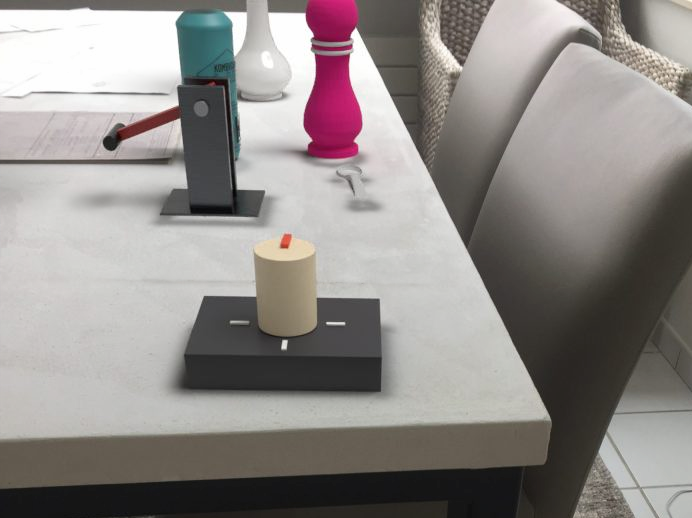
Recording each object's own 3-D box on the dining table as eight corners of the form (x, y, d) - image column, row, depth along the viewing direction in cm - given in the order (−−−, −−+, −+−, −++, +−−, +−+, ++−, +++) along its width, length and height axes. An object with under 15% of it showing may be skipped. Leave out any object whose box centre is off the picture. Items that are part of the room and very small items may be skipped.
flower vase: (324, 109, 131) (321, -97, 116) (198, 105, 131) (179, -102, 116) (329, 88, 141) (327, -103, 126) (213, 85, 141) (197, -107, 126)
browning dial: (314, 338, 65) (312, 257, 62) (254, 335, 65) (248, 255, 62) (319, 312, 69) (317, 234, 65) (262, 310, 69) (257, 232, 65)
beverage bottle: (178, 171, 106) (156, -25, 94) (204, 156, 111) (187, -31, 99) (228, 178, 104) (212, -20, 92) (252, 162, 109) (241, -27, 97)
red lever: (109, 158, 89) (97, 134, 87) (120, 144, 93) (108, 121, 91) (220, 115, 87) (209, 89, 85) (226, 102, 91) (216, 78, 89)
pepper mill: (361, 169, 108) (363, -22, 96) (302, 167, 108) (296, -24, 96) (362, 152, 114) (364, -30, 102) (306, 150, 114) (301, -32, 102)
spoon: (359, 174, 106) (359, 157, 105) (377, 216, 97) (378, 198, 96) (334, 175, 105) (334, 158, 104) (350, 217, 97) (350, 199, 95)
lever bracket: (161, 224, 91) (143, 89, 84) (174, 199, 98) (159, 71, 90) (259, 226, 92) (251, 92, 84) (265, 201, 98) (258, 73, 90)
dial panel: (188, 391, 65) (183, 352, 63) (207, 330, 73) (203, 293, 71) (380, 393, 65) (382, 354, 63) (378, 332, 73) (379, 296, 71)
